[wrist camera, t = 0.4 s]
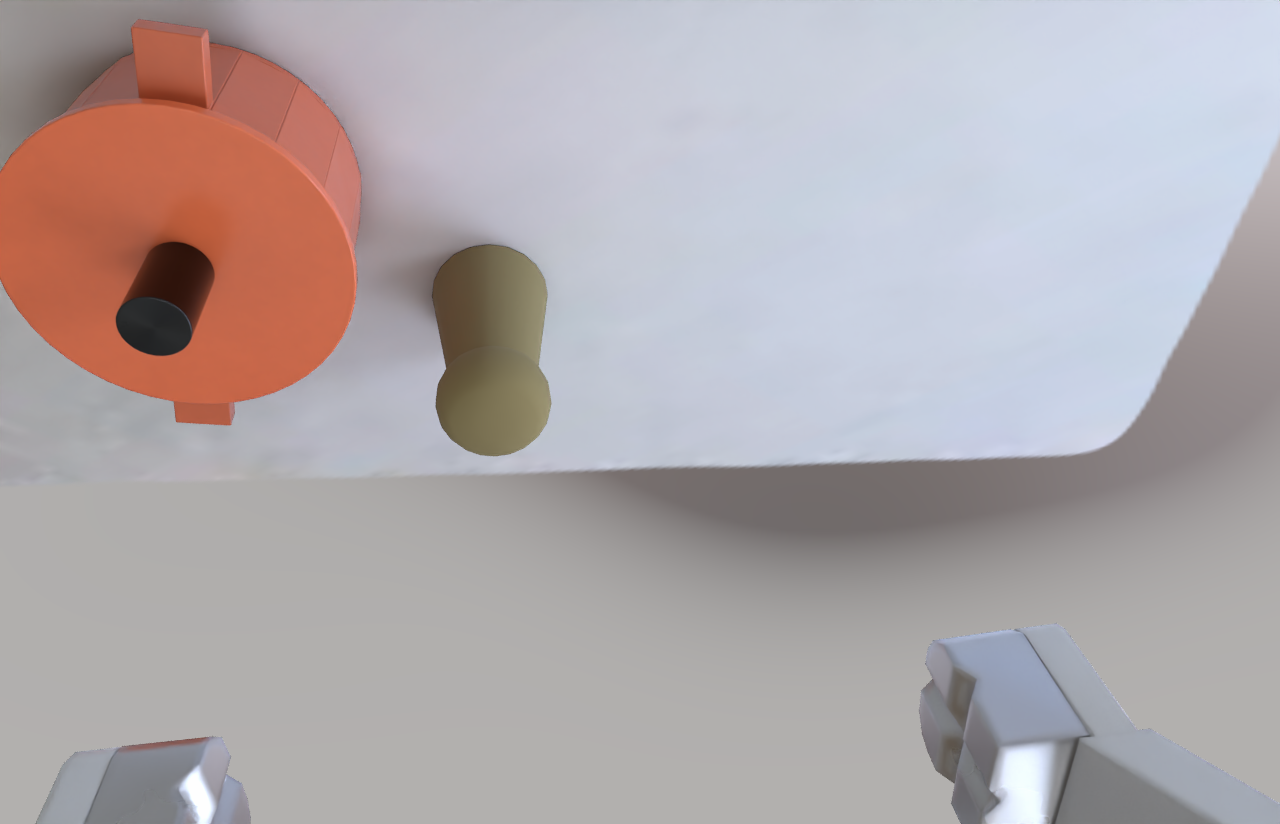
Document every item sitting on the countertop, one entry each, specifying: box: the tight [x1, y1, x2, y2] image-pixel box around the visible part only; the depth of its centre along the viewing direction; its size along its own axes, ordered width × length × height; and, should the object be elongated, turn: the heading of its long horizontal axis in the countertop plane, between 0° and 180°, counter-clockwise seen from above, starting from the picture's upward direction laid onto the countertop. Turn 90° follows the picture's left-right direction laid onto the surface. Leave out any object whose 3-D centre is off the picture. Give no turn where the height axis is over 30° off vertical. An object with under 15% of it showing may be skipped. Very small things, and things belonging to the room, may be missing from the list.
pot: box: [65, 19, 361, 425], centre depth 42 cm, size 13×18×8 cm
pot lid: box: [0, 98, 357, 404], centre depth 38 cm, size 14×14×5 cm
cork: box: [432, 245, 551, 456], centre depth 47 cm, size 6×6×11 cm
